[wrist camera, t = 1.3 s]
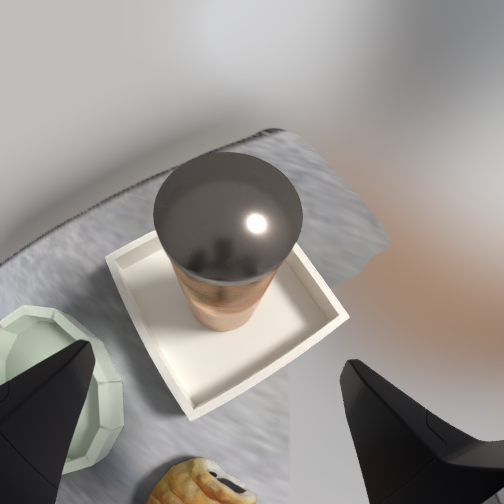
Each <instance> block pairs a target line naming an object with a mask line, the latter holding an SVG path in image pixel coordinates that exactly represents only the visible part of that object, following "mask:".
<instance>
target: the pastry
mask: <svg viewBox="0 0 504 504" xmlns="http://www.w3.org/2000/svg"><path fill="white" fill-rule="evenodd" d="M256 502H257V497H256V494H255V493H253V492H251V491H249V490H248V489H246V486H245V484H244V483H242V482H241V481H240V480H238V479H237V478H234V477H232V476H231V475H229V474H227V473H224V472H223V471H222V469H221V467H220V466H219V465H218V464H216V463H214V462H213V461H212V460H210V459H206V458H202V457H198V458H193V459H189V460H187V461H185V462H182V463H179V464H176V465H174V466H172V467H171V468H170V469H169V470H168V472H167V473H166V474H165V475H164V476H163V477H162V479H161V480H160V481H158V482H157V483H156V484H155V486H154V489H153V490H152V492H151V493H150V496H149V499H148V500H147V502H146V504H256Z"/></svg>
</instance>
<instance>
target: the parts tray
mask: <svg viewBox="0 0 504 504" xmlns="http://www.w3.org/2000/svg"><path fill="white" fill-rule="evenodd" d="M105 259H106V262H107V264H108V267H109V269H110V272H111V274H112V277H113V279H114V282H115V284H116V286H117V289H118V291H119V293H120V296H121V298H122V300H123V302H124V305H125V307H126V309H127V311H128V313H129V315H130V317H131V319H132V322H133V324H134V326H135V328H136V330H137V332H138V334H139V336H140V338H141V339H142V341H143V343H144V345H145V347H146V349H147V351H148V353H149V355H150V356H151V358H152V360H153V362H154V364H155V365H156V367H157V369H158V371H159V372H160V374H161V376H162V377H163V379H164V381H165V383H166V384H167V386H168V387H169V389H170V391H171V392H172V394H173V396H174V397H175V399H176V400H177V402H178V403H179V405H180V407H181V408H182V410H183V411H184V413H185V414H186V416H187V417H188V419H189V420H190V421H193V420H195V419H197V418H199V417H201V416H202V415H204V414H206V413H208V412H210V411H212V410H213V409H215V408H217V407H219V406H220V405H222V404H224V403H226V402H227V401H229V400H231V399H233V398H234V397H236V396H238V395H239V394H241V393H243V392H244V391H246V390H248V389H249V388H251V387H252V386H254V385H256V384H257V383H259V382H260V381H262V380H263V379H265V378H267V377H268V376H270V375H271V374H273V373H274V372H276V371H277V370H279V369H280V368H282V367H283V366H285V365H286V364H288V363H289V362H290V361H292V360H293V359H295V358H296V357H298V356H299V355H300V354H302V353H303V352H305V351H306V350H307V349H309V348H310V347H312V346H313V345H314V344H316V343H317V342H318V341H320V340H321V339H322V338H324V337H325V336H326V335H327V334H329V333H330V332H331V331H333V330H334V329H335V328H337V327H338V326H339V325H340V324H342V323H343V322H344V321H345V320H347V319H348V318H349V315H348V314H347V312H346V311H345V310H344V308H343V307H342V305H341V304H340V302H339V301H338V300H337V298H336V297H335V295H334V294H333V292H332V291H331V290H330V288H329V287H328V285H327V284H326V283H325V281H324V280H323V278H322V277H321V276H320V274H319V273H318V272H317V270H316V269H315V267H314V266H313V265H312V263H311V262H310V261H309V259H308V258H307V256H306V255H305V254H304V252H303V251H302V250H301V248H300V247H299V246H298V244H297V243H295V245H294V247H293V249H292V250H291V252H290V254H289V256H288V257H287V258H286V260H285V261H284V262H283V263H282V265H280V267H279V269H278V270H277V272H276V274H275V276H274V278H273V280H272V281H271V283H270V285H269V287H268V289H267V290H266V292H265V294H264V296H263V297H262V299H261V301H260V303H259V305H258V306H257V308H256V310H255V312H254V313H253V315H252V317H251V318H250V319H249V320H248V322H246V323H245V324H244V325H243V326H241V327H239V328H237V329H235V330H232V331H225V332H221V331H214V330H211V329H209V328H207V327H205V326H203V325H202V324H201V323H199V322H198V321H197V319H196V318H195V317H194V315H193V314H192V312H191V310H190V307H189V305H188V303H187V300H186V298H185V296H184V293H183V291H182V289H181V286H180V284H179V281H178V279H177V276H176V274H175V272H174V269H173V267H172V264H171V261H170V259H169V258H168V256H167V255H166V253H165V251H164V250H163V247H162V245H161V243H160V240H159V238H158V235H157V233H156V230H154V231H152V232H150V233H148V234H146V235H144V236H142V237H140V238H138V239H136V240H135V241H133V242H131V243H129V244H127V245H125V246H123V247H122V248H120V249H118V250H116V251H114V252H112V253H111V254H109V255H107V256H105Z"/></svg>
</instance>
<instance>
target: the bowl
mask: <svg viewBox="0 0 504 504" xmlns="http://www.w3.org/2000/svg"><path fill="white" fill-rule="evenodd" d="M79 339H83V340H87V341H90V343H91V345H92V348H93V352H94V355H95V360H96V362H95V367H94V371H93V374H92V378H91V382H90V386H89V389H88V393H87V397H86V400H85V403H84V406H83V409H82V411H81V414H80V417H79V420H78V423H77V426H76V429H75V432H74V435H73V438H72V441H71V444H70V447H69V451H68V454H67V457H66V461H65V464H64V468H63V472H62V475H63V474H67V473H70V472H73V471H77V470H80V469H83V468H86V467H89V466H92V465H94V464H96V463H97V462H99V461H100V460H102V459H103V458H105V457H106V456H108V454H109V452H110V450H111V449H112V447H113V445H114V443H115V441H116V439H117V438H118V436H119V434H120V432H121V430H122V428H123V427H124V410H123V387H122V382H121V381H122V380H121V378H120V376H119V374H118V372H117V370H116V368H115V366H114V364H113V362H112V360H111V358H110V356H109V354H108V352H107V350H106V348H105V346H104V343H103V342H102V340H100V339H99V338H98V337H96V336H95V335H94V334H93V333H91V332H90V331H89V330H88V329H86V328H85V327H84V326H83V325H82V324H80V323H79V322H78V321H77V320H76V319H75V318H73V317H72V316H70V315H67V314H65V313H63V312H61V311H60V310H58V309H56V308H48V307H39V306H31V305H22V306H21V307H19V308H18V309H16V310H15V311H14V312H12V313H11V314H9V315H8V316H6V317H5V318H3V319H2V320H0V385H2V384H3V383H5V382H7V381H8V380H11V379H12V378H14V377H15V376H17V375H19V374H20V373H22V372H24V371H25V370H27V369H29V368H31V367H32V366H34V365H36V364H37V363H39V362H41V361H43V360H44V359H46V358H48V357H49V356H51V355H53V354H55V353H56V352H58V351H60V350H61V349H63V348H65V347H67V346H68V345H70V344H72V343H74V342H75V341H77V340H79Z"/></svg>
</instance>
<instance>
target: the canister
mask: <svg viewBox="0 0 504 504" xmlns="http://www.w3.org/2000/svg"><path fill="white" fill-rule="evenodd" d="M153 217H154V225H155V229H156V233H157V235H158V238H159V240H160V243H161V245H162V247H163V250H164V251H165V253H166V255H167V256H168V258H169V259H170V261H171V264H172V267H173V269H174V272H175V274H176V276H177V279H178V281H179V284H180V286H181V289H182V291H183V293H184V296H185V298H186V300H187V303H188V305H189V307H190V310H191V312H192V314H193V315H194V317H195V318H196V319H197V321H198V322H199V323H201V324H202V325H203V326H205V327H207V328H209V329H211V330H214V331H221V332H225V331H232V330H235V329H237V328H239V327H241V326H243V325H244V324H245V323H246V322H248V320H249V319H250V318H251V317H252V315H253V313H254V312H255V310H256V308H257V306H258V305H259V303H260V301H261V299H262V297H263V296H264V294H265V292H266V290H267V289H268V287H269V285H270V283H271V281H272V280H273V278H274V276H275V274H276V272H277V270H278V269H279V267H280V265H282V263H283V262H284V261H285V260H286V258H287V257H288V256H289V254H290V252H291V250H292V249H293V247H294V245H295V243H296V242H297V240H298V237H299V235H300V232H301V227H302V220H303V213H302V206H301V202H300V199H299V196H298V194H297V192H296V190H295V188H294V186H293V185H292V183H291V182H290V181H289V179H288V178H287V177H286V176H285V175H284V174H283V173H282V172H280V171H279V170H278V169H277V168H275V167H274V166H272V165H271V164H269V163H267V162H265V161H263V160H261V159H259V158H256V157H254V156H250V155H246V154H241V153H233V152H219V153H212V154H207V155H203V156H200V157H197V158H194V159H192V160H190V161H188V162H186V163H185V164H183V165H181V166H180V167H178V168H177V169H176V170H175V171H173V172H172V173H171V174H170V175H169V176H168V178H167V179H166V180H165V181H164V183H163V184H162V186H161V188H160V190H159V191H158V194H157V197H156V200H155V204H154V212H153Z"/></svg>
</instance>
